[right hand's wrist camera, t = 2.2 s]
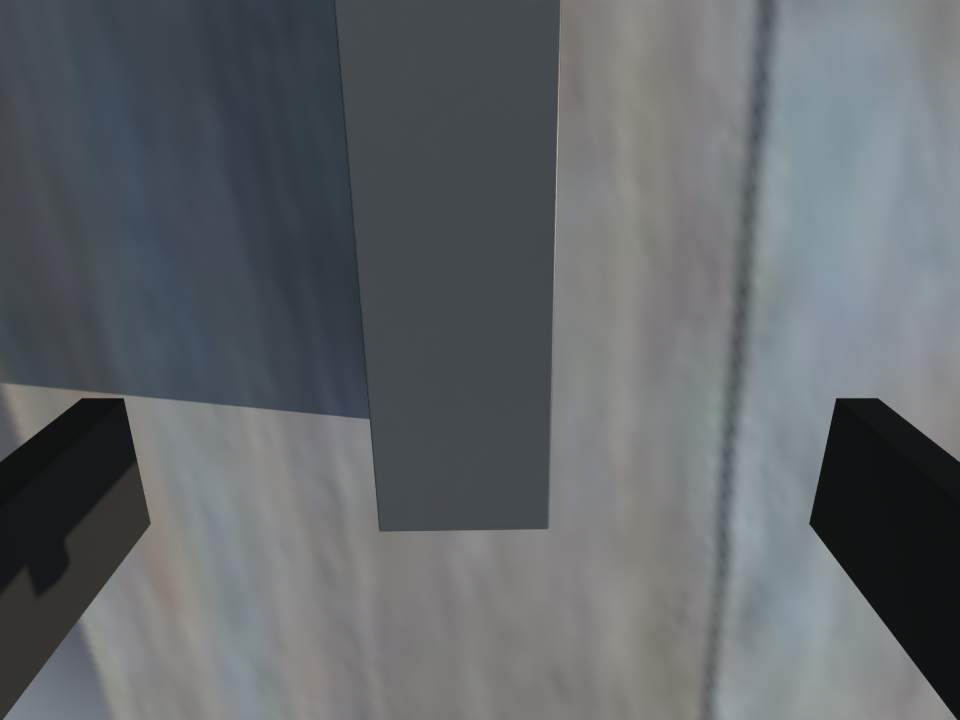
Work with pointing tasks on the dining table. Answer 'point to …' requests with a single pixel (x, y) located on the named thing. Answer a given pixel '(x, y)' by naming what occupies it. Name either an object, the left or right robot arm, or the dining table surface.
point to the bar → (455, 252)
